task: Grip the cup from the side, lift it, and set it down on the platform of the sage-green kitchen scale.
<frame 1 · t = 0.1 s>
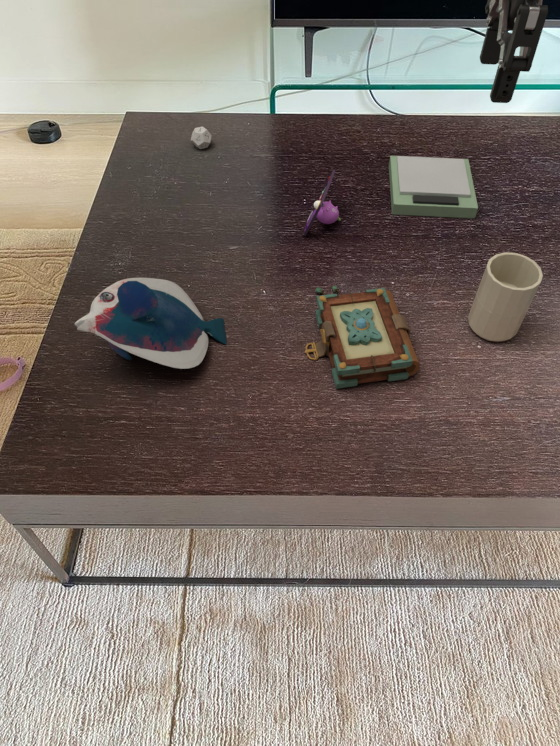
hand: (493, 81, 70), 27 cm above the table, tool pointing down, fingers open, 8 cm apart
cup: (491, 325, 84), on the table
purple winged figurine: (324, 222, 97), on the table
scale: (430, 191, 101), on the table
decorative fish sculpture: (160, 341, 82), on the table
game die: (202, 146, 109), on the table
decorative book: (350, 335, 83), on the table
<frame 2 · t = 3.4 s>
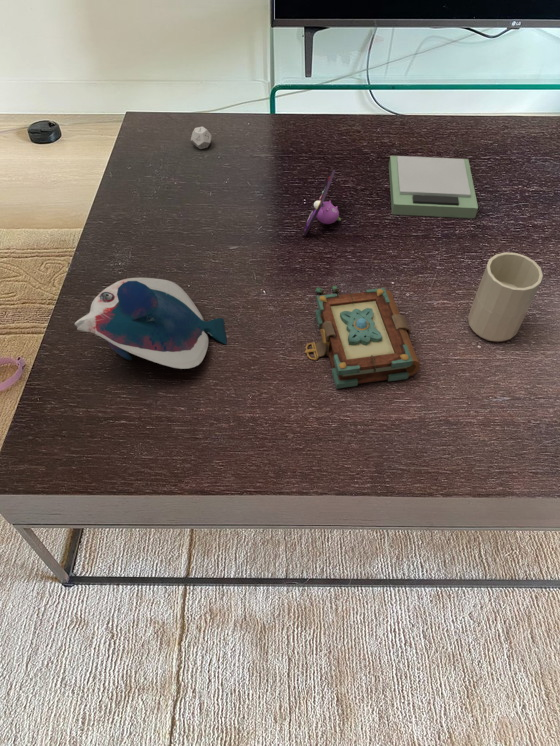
nothing on the table moved.
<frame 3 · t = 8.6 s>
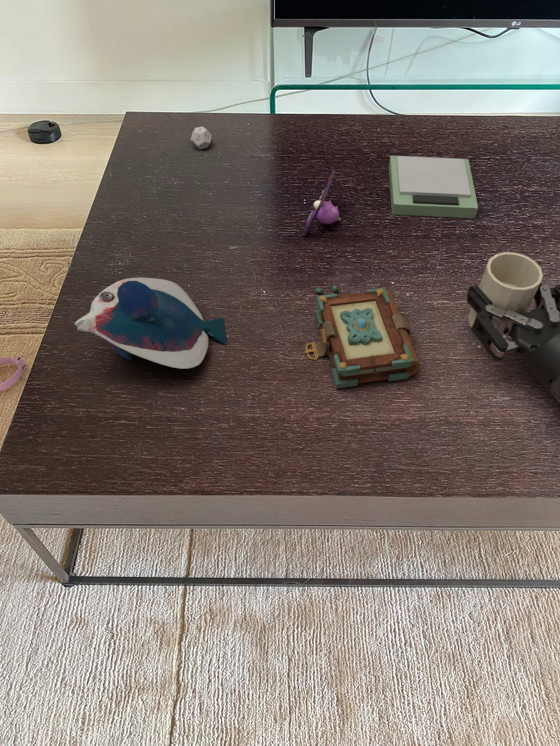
hand: (494, 282, 80), 6 cm above the table, tool horizontal, fingers closed on cup, 6 cm apart
cup: (491, 325, 84), on the table, touching gripper
everything else where it was.
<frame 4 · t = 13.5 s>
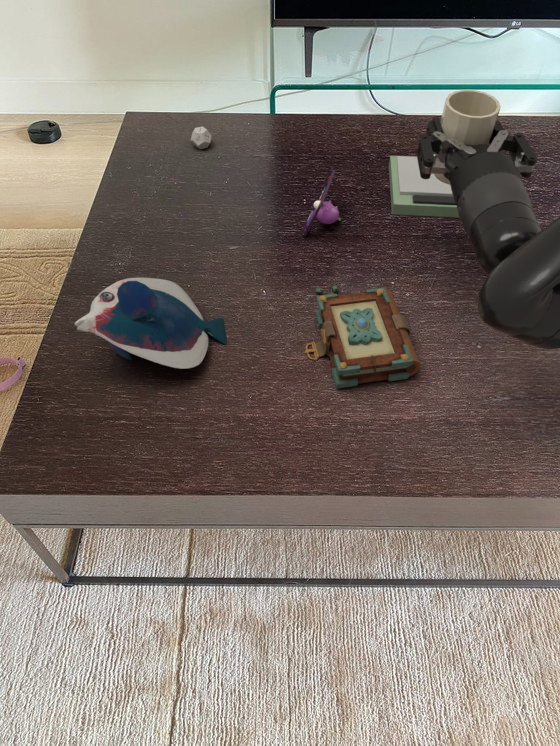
hand: (461, 123, 81), 18 cm above the table, tool horizontal, fingers closed on cup, 6 cm apart
cup: (454, 173, 85), point 12 cm above the table, touching gripper
everything else where it was.
when the fingers open (9 cm above the table, at t = 18.5 s): cup stays where it is, resting on scale.
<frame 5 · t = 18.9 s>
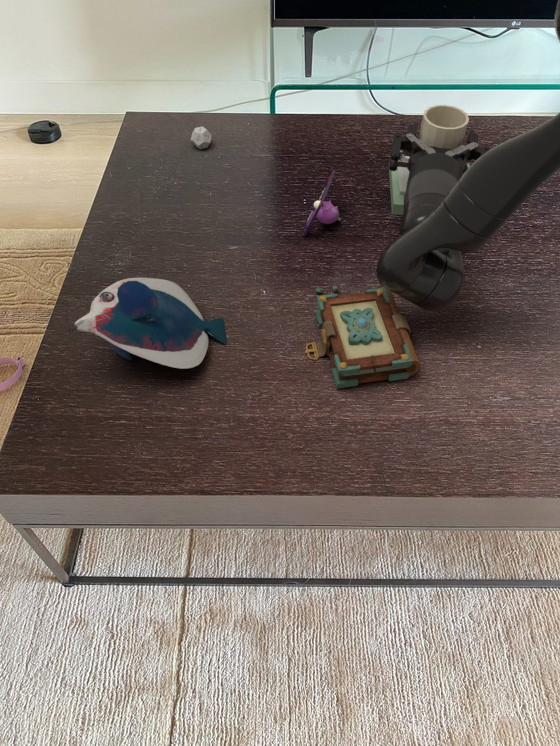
hand: (442, 131, 96), 9 cm above the table, tool horizontal, fingers open, 8 cm apart
cup: (432, 174, 100), point 3 cm above the table, touching scale
everything else where it was.
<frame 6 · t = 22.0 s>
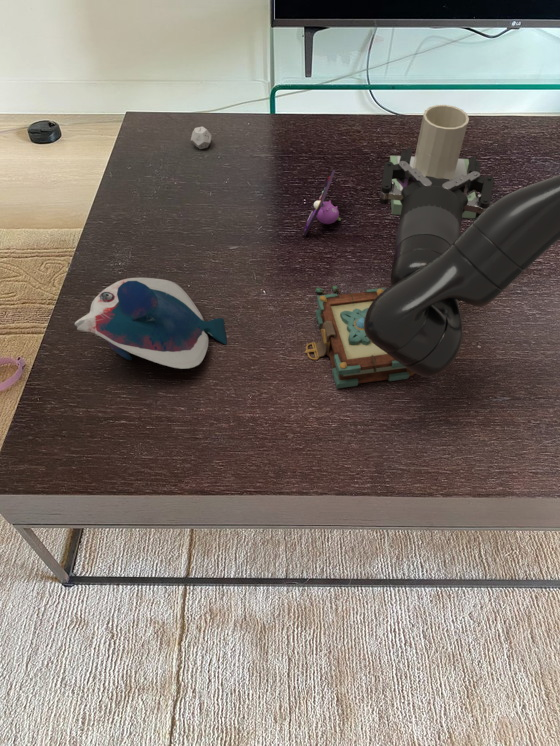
hand: (440, 157, 85), 13 cm above the table, tool horizontal, fingers open, 8 cm apart
nothing on the table moved.
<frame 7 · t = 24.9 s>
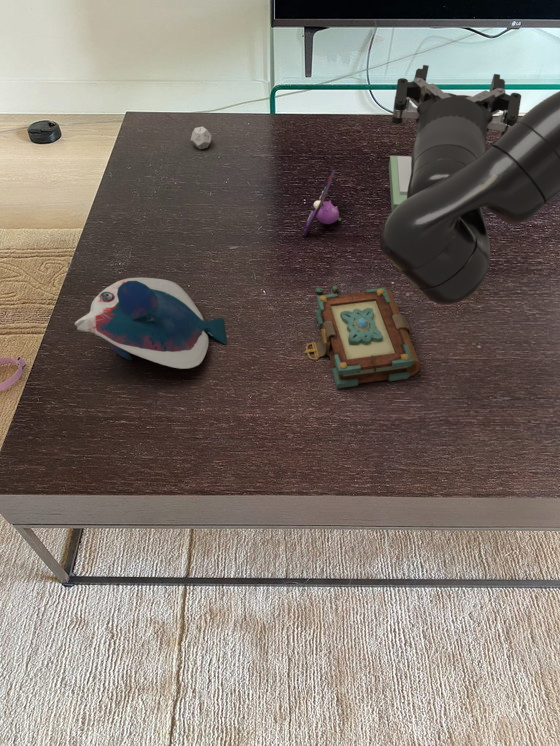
hand: (459, 77, 76), 24 cm above the table, tool horizontal, fingers open, 8 cm apart
nothing on the table moved.
at the end: cup inside the target area on the scale (0.1 cm from its centre), point 2.6 cm above the scale's base; cup tilted 0°; the gripper is holding nothing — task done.
